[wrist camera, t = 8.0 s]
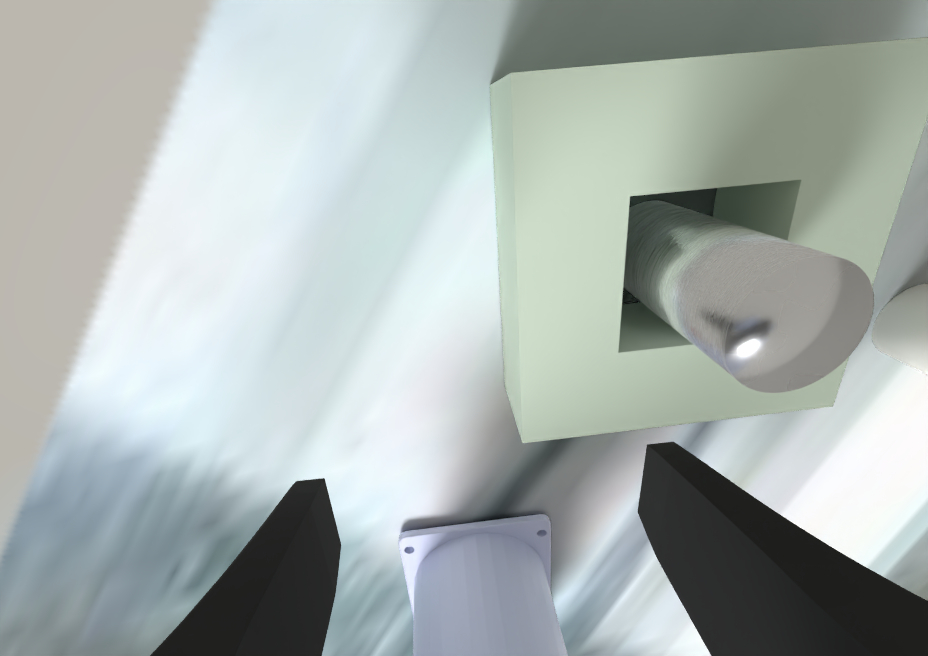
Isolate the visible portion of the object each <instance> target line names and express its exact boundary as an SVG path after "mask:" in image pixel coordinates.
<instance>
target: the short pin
mask: <svg viewBox="0 0 928 656" xmlns="http://www.w3.org/2000/svg"><path fill="white" fill-rule="evenodd" d="M872 340H873V343H874V345H875V347H876V348H877V349H878V350H879V351H880V352H882V353H884V354H886V355H888V356H890V357H892V358H894V359H896V360H898V361H900V362H902V363H904V364H906V365H908V366H910V367H912V368H914V369H916V370H918V371H920V372H922V373H924V374H926V375H928V284H920V285H916V286H913V287H911V288H909V289H907V290H905V291H903V292H901V293H900V294H898V295H897V296H895V297H894V298H893V299H892V300H891V301H890V302H889V303H888V304H887V305H886V306H885V307H884V308H883V309H882V310H881V312H880V313H879V315H878V317H877V319H876V321H875V323H874V326H873V330H872Z"/></svg>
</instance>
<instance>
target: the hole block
mask: <svg viewBox="0 0 928 656" xmlns="http://www.w3.org/2000/svg"><path fill="white" fill-rule="evenodd" d="M490 99H491V119H492V139H493V159H494V180H495V200H496V220H497V241H498V261H499V281H500V301H501V322H502V342H503V362H504V383H505V389H506V392H507V395H508V398H509V402H510V405H511V408H512V411H513V415H514V418H515V421H516V424H517V428H518V431H519V434H520V437H521V441H522V443H530V442H539V441H547V440H555V439H564V438H572V437H581V436H589V435H597V434H606V433H614V432H623V431H631V430H639V429H648V428H656V427H664V426H673V425H681V424H690V423H698V422H706V421H715V420H723V419H732V418H740V417H748V416H757V415H765V414H773V413H782V412H790V411H799V410H807V409H815V408H824V407H832V406H833V405H834V402H835V398H836V395H837V392H838V389H839V386H840V383H841V380H842V377H843V374H844V371H845V368H846V365H847V362H848V359H849V357H848V358H847V359H846V360H845V361H844V362H843V363H842V364H841V365H839V366H838V367H837V368H836V369H835V370H833V371H832V372H831V373H829V374H828V375H826V376H825V377H823V378H821V379H820V380H818V381H816V382H814V383H812V384H810V385H808V386H805V387H803V388H800V389H796V390H793V391H788V392H782V393H764V392H759V391H755V390H753V389H750V388H748V387H746V386H744V385H743V384H741V383H740V382H739V381H738V380H736V379H735V378H734V377H733V376H731V375H730V374H729V373H728V372H727V371H725V370H724V369H723V368H722V367H720V366H719V365H718V364H717V363H716V362H714V361H713V360H712V359H711V358H709V357H708V356H707V355H706V354H704V353H703V352H702V351H701V350H700V349H698V348H697V347H696V346H695V345H693V344H692V343H691V342H690V341H688V340H687V339H686V338H685V337H684V336H682V335H681V334H680V333H679V332H677V331H676V330H675V329H674V328H672V327H671V326H670V325H669V324H668V323H666V322H665V321H664V320H663V319H661V318H660V317H659V316H658V315H657V314H655V313H654V312H653V311H652V310H650V309H649V308H648V307H647V306H645V305H644V304H643V303H642V302H638V303H629V304H622V297H623V283H624V270H625V257H626V244H627V231H628V217H629V204H630V196H639V195H649V194H659V193H670V192H680V191H690V190H700V189H711V188H717V190H716V197H715V203H714V210H713V216H712V217H715V218H718V219H721V220H724V221H727V222H730V223H734V224H737V225H740V226H743V227H746V228H749V229H752V230H756V231H759V232H762V233H765V234H768V235H771V236H774V237H778V238H781V239H784V240H787V241H790V242H793V243H796V244H800V245H803V246H806V247H809V248H812V249H815V250H818V251H821V252H825V253H828V254H831V255H834V256H837V257H840V258H843V259H846V260H849V261H851V262H853V263H855V264H856V265H857V266H859V267H860V268H861V269H862V270H863V271H864V272H865V273H866V275H867V276H868V278H869V280H870V282H871V285H873V282H874V279H875V276H876V273H877V270H878V267H879V264H880V261H881V258H882V255H883V252H884V249H885V246H886V243H887V240H888V237H889V234H890V230H891V227H892V224H893V221H894V218H895V215H896V212H897V209H898V206H899V203H900V200H901V197H902V194H903V191H904V188H905V185H906V182H907V179H908V175H909V172H910V169H911V166H912V163H913V160H914V157H915V154H916V151H917V148H918V145H919V142H920V139H921V136H922V133H923V130H924V127H925V124H926V121H927V117H928V37H925V38H913V39H901V40H890V41H878V42H866V43H854V44H843V45H831V46H819V47H807V48H796V49H784V50H772V51H760V52H749V53H737V54H725V55H714V56H702V57H690V58H678V59H667V60H655V61H643V62H631V63H620V64H608V65H596V66H584V67H573V68H561V69H549V70H537V71H526V72H514V73H510V74H508V75H506V76H504V77H503V78H501V79H499V80H498V81H496V82H494V83H493V84H491V85H490Z"/></svg>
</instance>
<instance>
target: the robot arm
mask: <svg viewBox="0 0 928 656" xmlns="http://www.w3.org/2000/svg"><path fill="white" fill-rule="evenodd" d="M638 514H639V516H640V519H641V521H642V524H643V526H644V529H645V531H646V534H647V536H648V538H649V541H650V543H651V545H652V548H653V550H654V552H655V555H656V557H657V559H658V561H659V562H660V564H661V566H662V568H663V570H664V572H665V573H666V575H667V577H668V579H669V581H670V583H671V584H672V586H673V588H674V590H675V592H676V593H677V595H678V597H679V599H680V601H681V602H682V604H683V606H684V608H685V609H686V611H687V613H688V615H689V617H690V618H691V620H692V622H693V624H694V625H695V627H696V629H697V631H698V633H699V634H700V636H701V638H702V640H703V642H704V643H705V645H706V647H707V649H708V650H709V652H710V654H711V656H928V601H927V600H925V599H923V598H921V597H919V596H917V595H915V594H913V593H911V592H910V591H908V590H906V589H904V588H902V587H901V586H899V585H897V584H895V583H893V582H891V581H890V580H888V579H886V578H884V577H882V576H881V575H879V574H877V573H875V572H873V571H872V570H870V569H868V568H866V567H864V566H863V565H861V564H859V563H857V562H856V561H854V560H852V559H850V558H849V557H847V556H845V555H844V554H842V553H840V552H839V551H837V550H835V549H834V548H832V547H830V546H829V545H827V544H826V543H824V542H822V541H821V540H819V539H817V538H816V537H814V536H813V535H811V534H809V533H808V532H806V531H805V530H803V529H801V528H800V527H798V526H797V525H795V524H793V523H792V522H790V521H789V520H787V519H786V518H784V517H783V516H781V515H780V514H778V513H777V512H775V511H774V510H772V509H771V508H769V507H767V506H766V505H764V504H763V503H762V502H760V501H759V500H757V499H756V498H754V497H753V496H751V495H750V494H748V493H747V492H745V491H744V490H742V489H741V488H740V487H738V486H737V485H735V484H734V483H732V482H731V481H730V480H728V479H727V478H725V477H724V476H722V475H721V474H719V473H718V472H717V471H715V470H714V469H712V468H711V467H710V466H708V465H707V464H705V463H704V462H702V461H701V460H700V459H698V458H697V457H695V456H694V455H692V454H691V453H689V452H688V451H687V450H685V449H684V448H682V447H681V446H679V445H678V444H676V443H674V442H668V443H658V444H649V445H647V449H646V456H645V463H644V470H643V478H642V485H641V492H640V499H639V506H638ZM539 530H540V531H539ZM398 544H399V549H400V554H401V559H402V564H403V569H404V573H405V578H406V583H407V588H408V593H409V598H410V603H411V608H412V612H413V617H414V626H413V656H568V655H567V651H566V648H565V644H564V640H563V637H562V633H561V629H560V625H559V622H558V618H557V614H556V611H555V607H554V603H553V600H552V596H551V523H550V520H549V517H548V516H547V515H544V514H537V515H529V516H521V517H514V518H506V519H498V520H490V521H482V522H474V523H466V524H458V525H450V526H442V527H434V528H426V529H418V530H410V531H405V532H403V533H401V534H400V535H399V543H398ZM340 550H341V542H340V538H339V534H338V530H337V526H336V522H335V518H334V515H333V511H332V507H331V503H330V499H329V495H328V491H327V487H326V483H325V479H324V478H323V479H313V480H304V481H296V482H295V483H294V484H293V485H292V487H291V488H290V489H289V490H288V492H287V493H286V494H285V496H284V497H283V498H282V500H281V501H280V502H279V504H278V505H277V506H276V508H275V509H274V510H273V511H272V513H271V514H270V515H269V517H268V518H267V519H266V521H265V522H264V523H263V525H262V526H261V527H260V528H259V530H258V531H257V532H256V534H255V535H254V536H253V537H252V539H251V540H250V541H249V542H248V544H247V545H246V546H245V547H244V549H243V550H242V551H241V552H240V554H239V555H238V556H237V557H236V559H235V560H234V561H233V562H232V564H231V565H230V566H229V567H228V569H227V570H226V571H225V572H224V573H223V575H222V576H221V577H220V578H219V579H218V581H217V582H216V583H215V584H214V585H213V586H212V588H211V589H210V590H209V591H208V592H207V593H206V594H205V596H204V597H203V598H202V599H201V600H200V601H199V602H198V604H197V605H196V606H195V607H194V608H193V609H192V611H191V612H190V613H189V614H188V615H187V616H186V617H185V619H184V620H183V621H182V622H181V623H180V624H179V625H178V626H177V627H176V628H175V630H174V631H173V632H172V633H171V634H170V635H169V636H168V637H167V638H166V639H165V640H164V641H163V643H162V644H161V645H160V646H159V647H158V648H157V649H156V650H155V651H154V652H153V653H152V654H151V655H150V656H322V651H323V647H324V643H325V638H326V634H327V629H328V625H329V621H330V616H331V612H332V607H333V603H334V598H335V593H336V585H337V577H338V569H339V560H340Z"/></svg>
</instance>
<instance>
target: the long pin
mask: <svg viewBox="0 0 928 656" xmlns="http://www.w3.org/2000/svg"><path fill="white" fill-rule="evenodd" d="M623 288H625V289H626V290H627V291H628V292H629V293H631V294H632V295H633V296H634V297H636V298H637V299H638V300H639V301H641V302H642V303H643V304H644V305H645V306H647V307H648V308H649V309H650V310H652V311H653V312H654V313H655V314H657V315H658V316H659V317H660V318H661V319H663V320H664V321H665V322H666V323H668V324H669V325H670V326H671V327H672V328H674V329H675V330H676V331H677V332H679V333H680V334H681V335H682V336H684V337H685V338H686V339H687V340H688V341H690V342H691V343H692V344H693V345H695V346H696V347H697V348H698V349H700V350H701V351H702V352H703V353H704V354H706V355H707V356H708V357H709V358H711V359H712V360H713V361H714V362H716V363H717V364H718V365H719V366H720V367H722V368H723V369H724V370H725V371H727V372H728V373H729V374H730V375H731V376H733V377H734V378H735V379H736V380H738V381H739V382H740V383H741V384H743V385H744V386H746V387H748V388H750V389H753V390H755V391H759V392H764V393H782V392H788V391H793V390H796V389H800V388H803V387H805V386H808V385H810V384H812V383H814V382H816V381H818V380H820V379H821V378H823V377H825V376H826V375H828V374H829V373H831V372H832V371H833V370H835V369H836V368H837V367H838V366H839V365H841V364H842V363H843V362H844V361H845V360H846V359H847V358H848V357H849V356H850V355H851V353H852V352H853V351H854V350H855V349H856V347H857V346H858V344H859V343H860V341H861V340H862V338H863V336H864V334H865V333H866V331H867V328H868V326H869V324H870V321H871V317H872V314H873V307H874V294H873V288H872V285H871V282H870V280H869V278H868V276H867V275H866V273H865V272H864V271H863V270H862V269H861V268H860V267H859V266H857V265H856V264H855V263H853V262H851V261H849V260H846V259H843V258H840V257H837V256H834V255H831V254H828V253H825V252H821V251H818V250H815V249H812V248H809V247H806V246H803V245H800V244H796V243H793V242H790V241H787V240H784V239H781V238H778V237H774V236H771V235H768V234H765V233H762V232H759V231H756V230H752V229H749V228H746V227H743V226H740V225H737V224H734V223H730V222H727V221H724V220H721V219H718V218H715V217H712V216H709V215H705V214H702V213H699V212H696V211H693V210H690V209H687V208H683V207H680V206H677V205H674V204H671V203H668V202H664V201H658V200H652V201H645V202H642V203H638V204H636V205H634V206H632V207H630V208H629V217H628V231H627V244H626V257H625V270H624V283H623Z"/></svg>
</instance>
